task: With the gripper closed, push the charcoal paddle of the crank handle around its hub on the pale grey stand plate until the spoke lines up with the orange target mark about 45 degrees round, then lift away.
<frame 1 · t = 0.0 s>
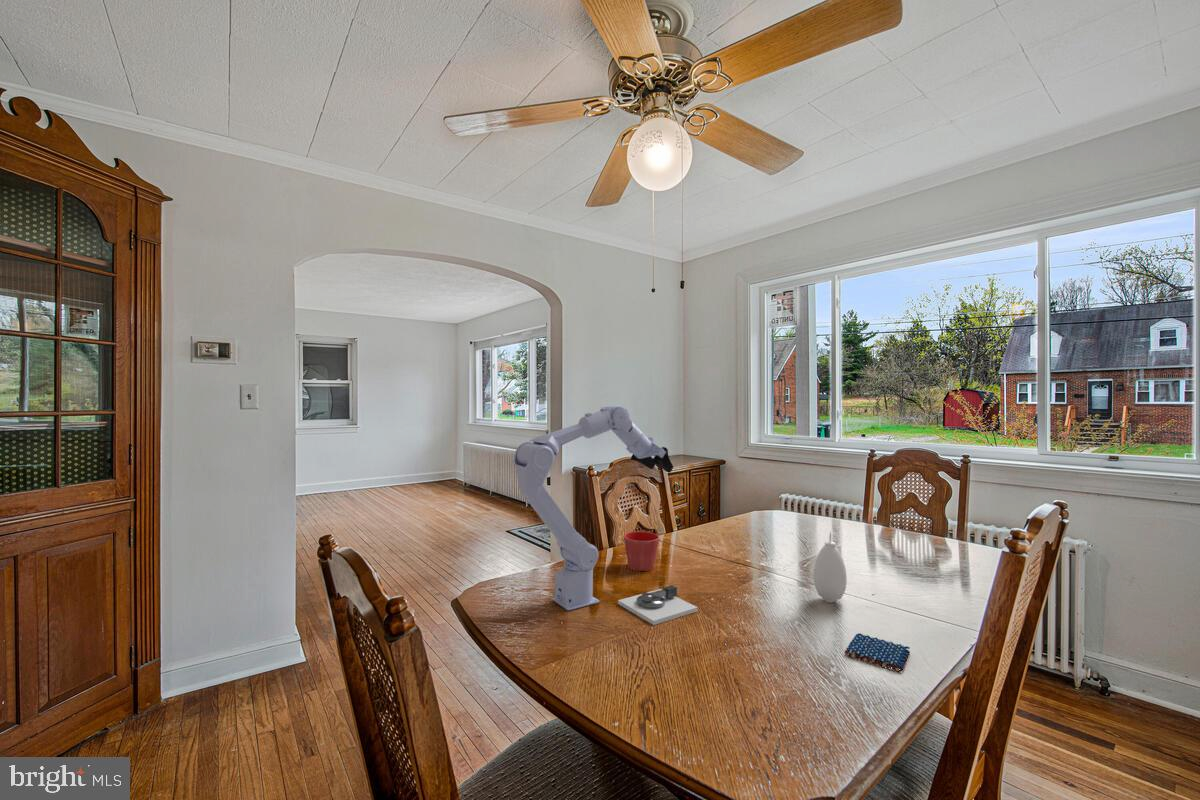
hand: (662, 468, 145), 32 cm above the table, tool tilted 50°, fingers open, 7 cm apart
woven mat: (876, 657, 104), on the table
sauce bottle: (829, 602, 131), on the table
stand plate: (646, 608, 125), on the table
crank handle: (657, 595, 127), point 3 cm above the table, hinge at 0.0°
flower pot: (641, 567, 156), on the table
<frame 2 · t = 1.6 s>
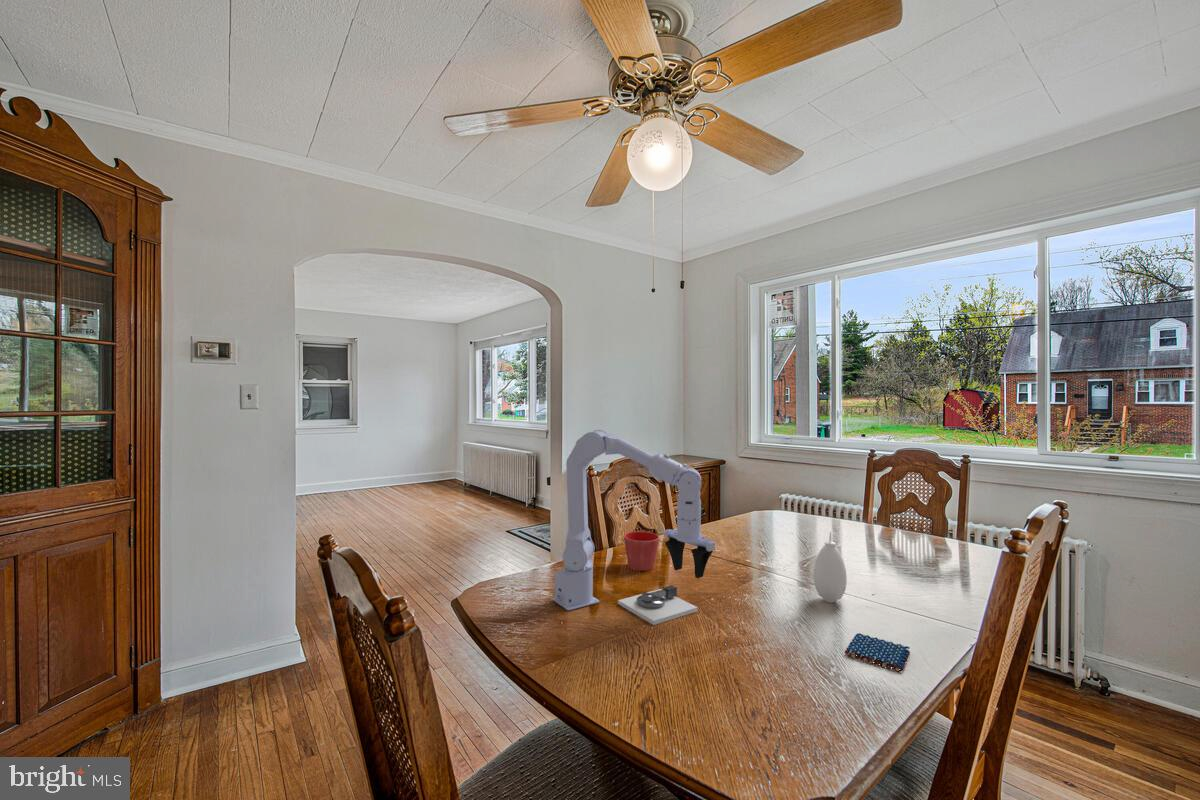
hand: (688, 573, 124), 9 cm above the table, tool pointing down, fingers open, 6 cm apart
nothing on the table moved.
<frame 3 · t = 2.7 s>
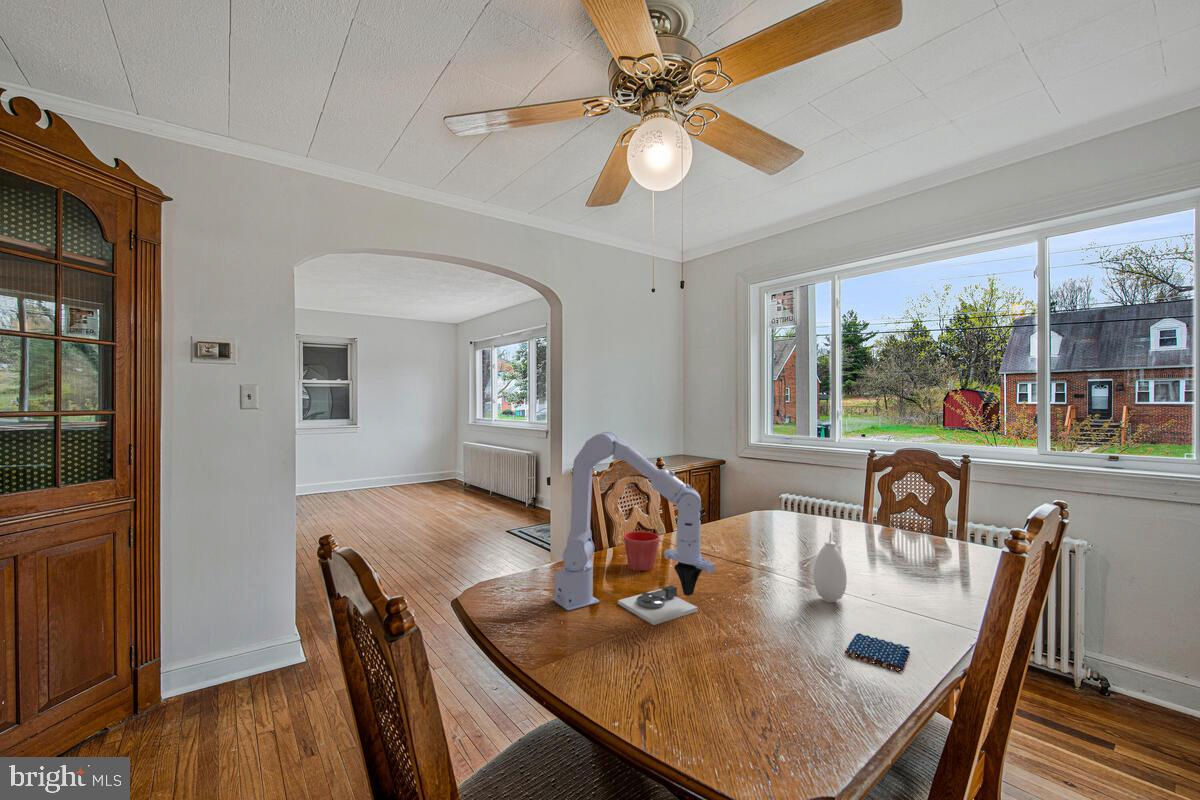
hand: (688, 594, 124), 4 cm above the table, tool pointing down, fingers closed
nothing on the table moved.
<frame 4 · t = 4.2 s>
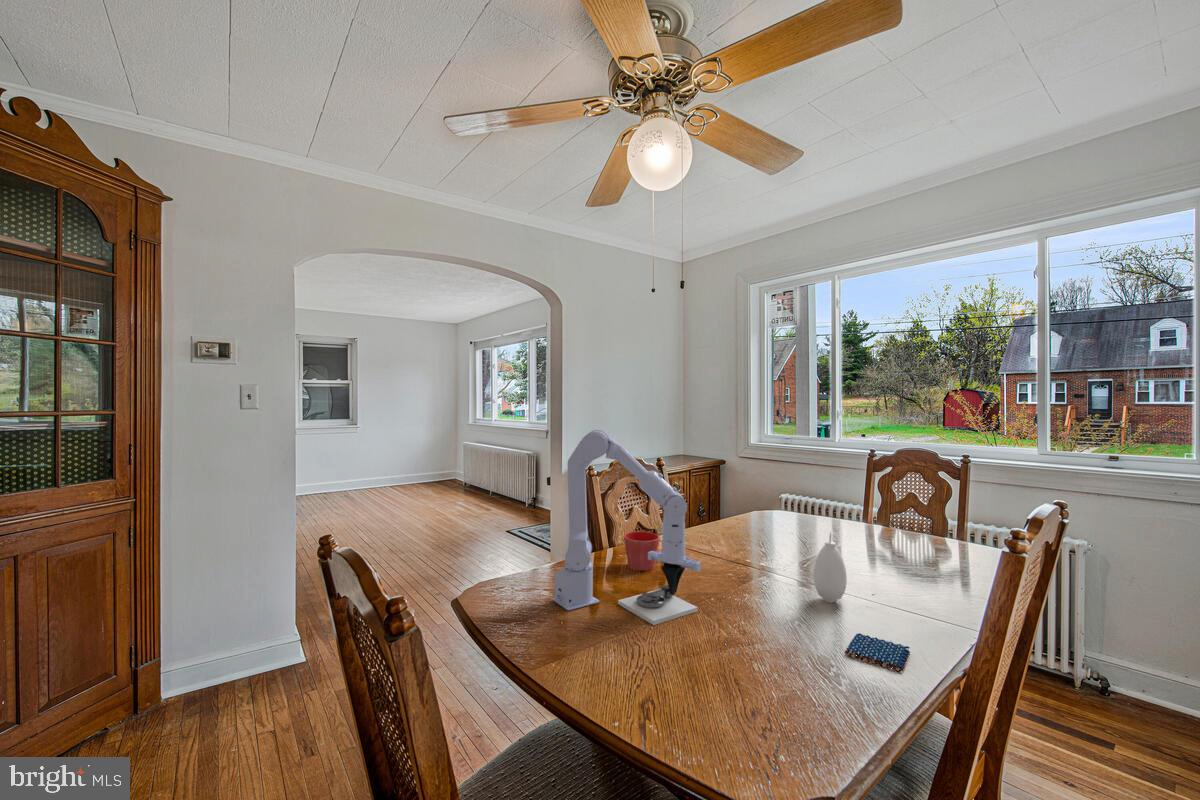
hand: (673, 593, 129), 3 cm above the table, tool pointing down, fingers closed
crank handle: (656, 595, 127), point 3 cm above the table, hinge at 4.9°, touching gripper
everything else where it was.
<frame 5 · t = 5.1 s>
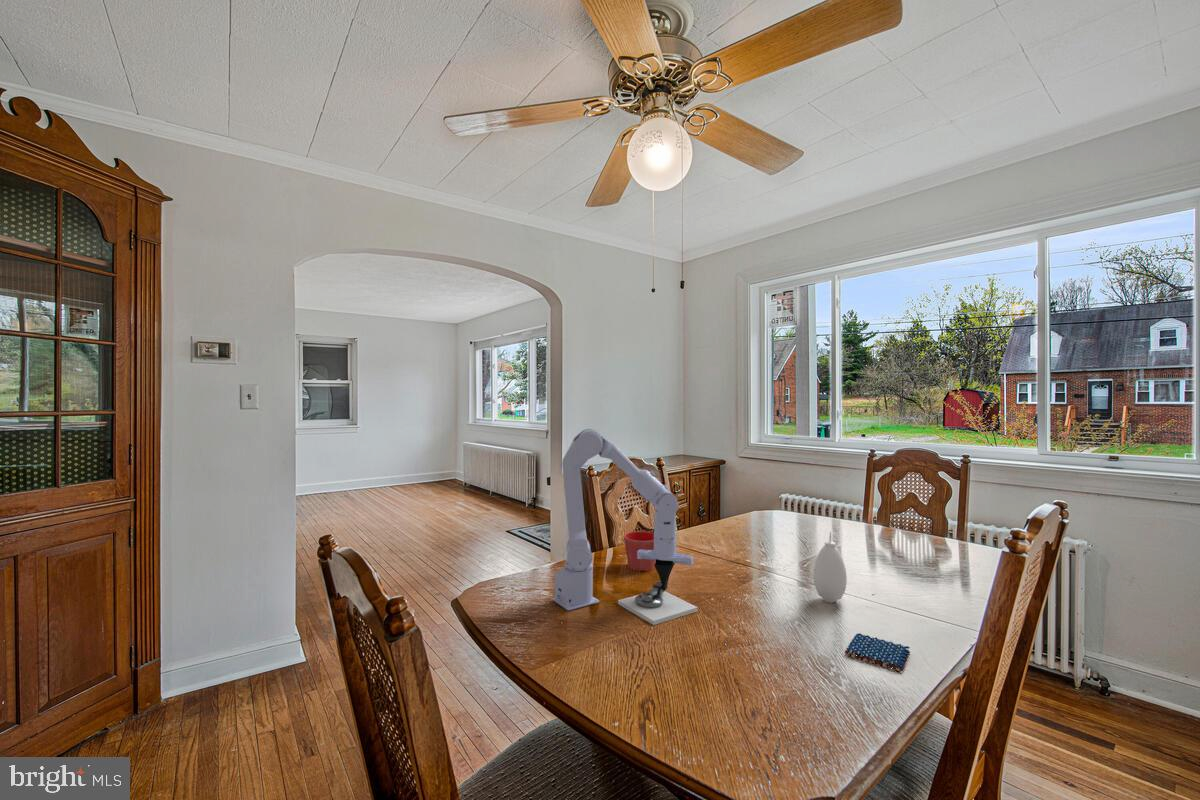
hand: (664, 589, 131), 3 cm above the table, tool pointing down, fingers closed
crank handle: (652, 594, 128), point 3 cm above the table, hinge at 27.0°, touching gripper
everything else where it was.
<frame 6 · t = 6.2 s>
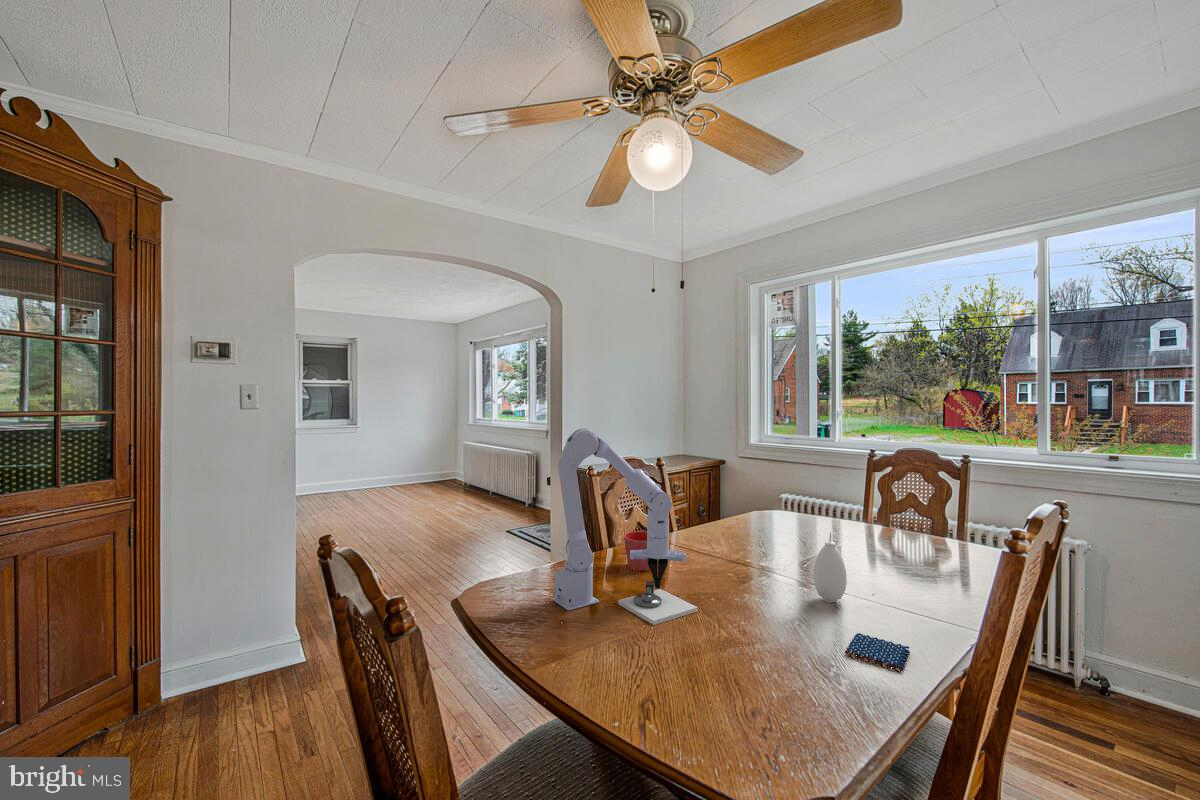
hand: (657, 587, 132), 3 cm above the table, tool pointing down, fingers closed
crank handle: (648, 593, 129), point 3 cm above the table, hinge at 44.8°, touching gripper
everything else where it was.
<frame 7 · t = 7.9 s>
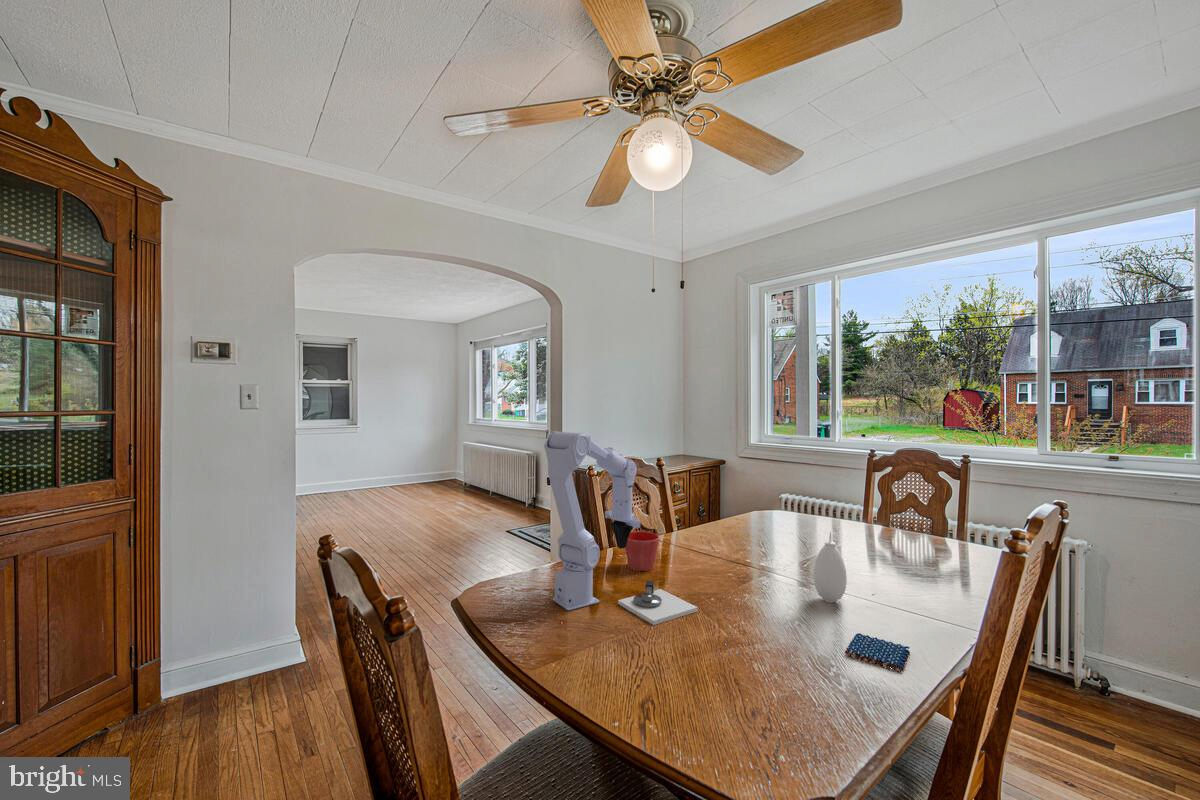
hand: (621, 547, 144), 9 cm above the table, tool pointing down, fingers closed
crank handle: (648, 593, 129), point 3 cm above the table, hinge at 44.8°
everything else where it was.
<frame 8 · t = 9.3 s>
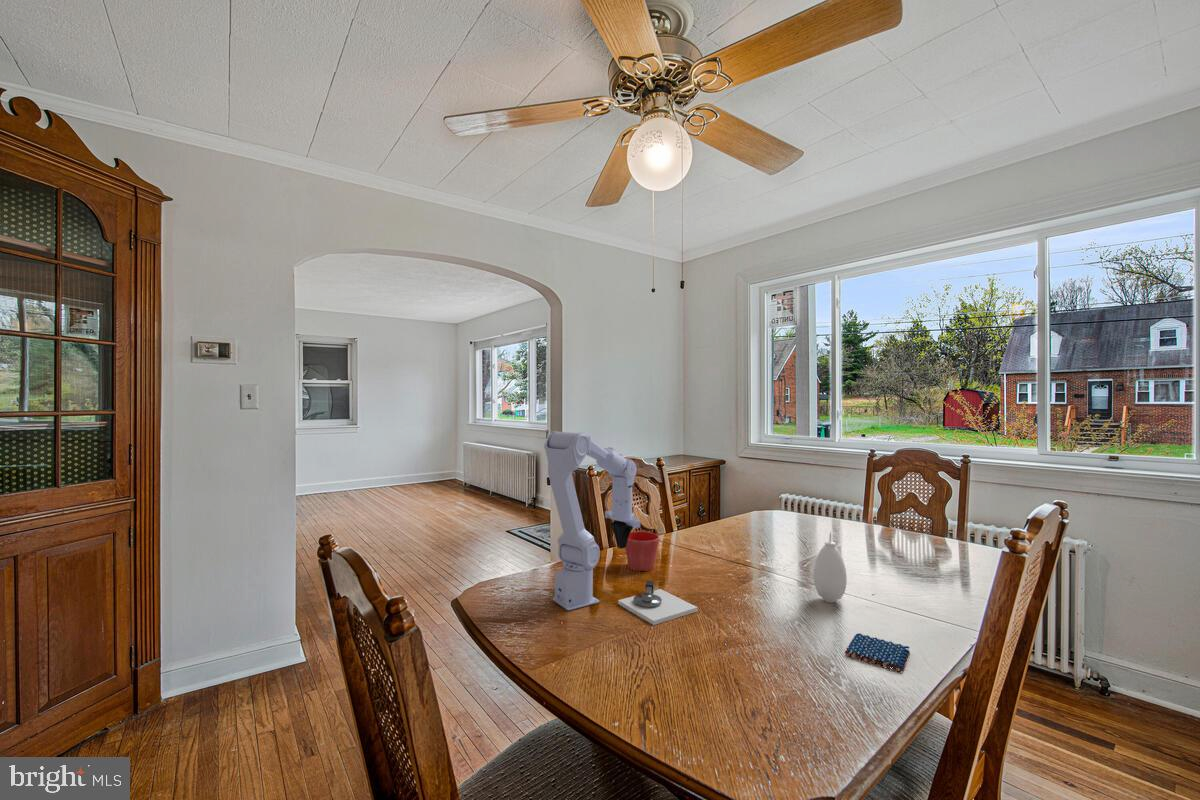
hand: (621, 547, 144), 9 cm above the table, tool pointing down, fingers closed
nothing on the table moved.
at the end: crank handle at +45° (first picture: +0°) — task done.
